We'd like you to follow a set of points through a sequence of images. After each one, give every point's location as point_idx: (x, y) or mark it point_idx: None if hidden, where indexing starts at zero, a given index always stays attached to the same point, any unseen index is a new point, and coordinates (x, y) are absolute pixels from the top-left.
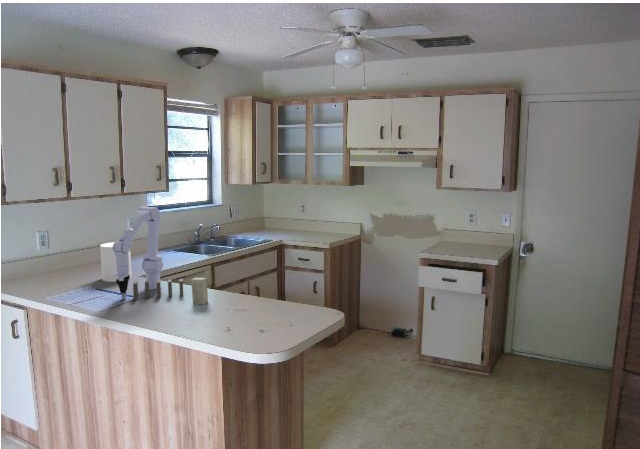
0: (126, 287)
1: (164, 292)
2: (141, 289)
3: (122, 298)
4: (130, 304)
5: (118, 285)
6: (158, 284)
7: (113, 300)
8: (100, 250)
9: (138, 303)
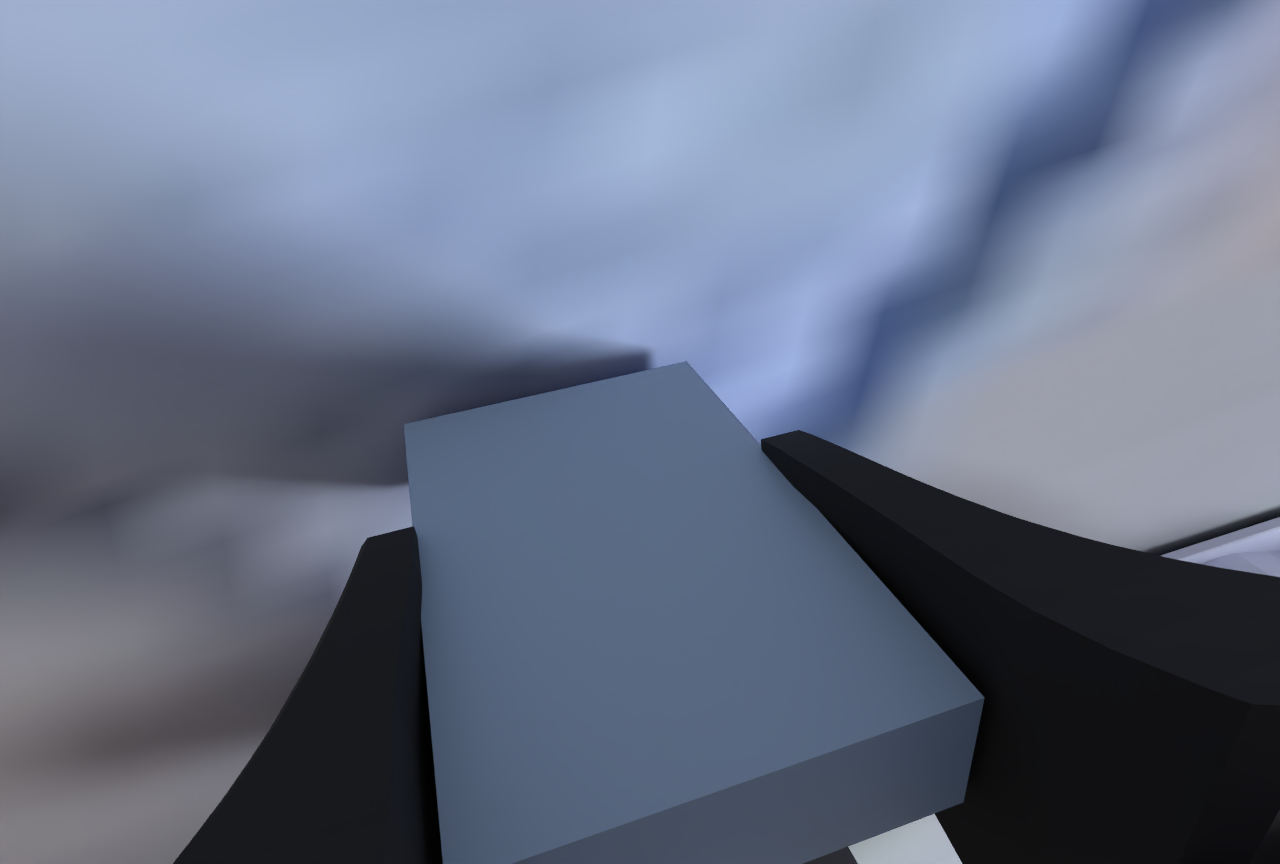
0: None
1: (859, 860)
2: (1178, 490)
3: (412, 452)
4: (27, 737)
5: (203, 826)
6: None
7: (408, 154)
8: None
9: (154, 837)
